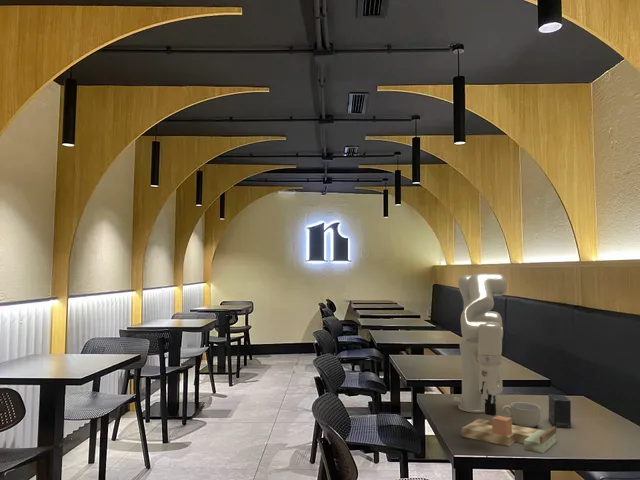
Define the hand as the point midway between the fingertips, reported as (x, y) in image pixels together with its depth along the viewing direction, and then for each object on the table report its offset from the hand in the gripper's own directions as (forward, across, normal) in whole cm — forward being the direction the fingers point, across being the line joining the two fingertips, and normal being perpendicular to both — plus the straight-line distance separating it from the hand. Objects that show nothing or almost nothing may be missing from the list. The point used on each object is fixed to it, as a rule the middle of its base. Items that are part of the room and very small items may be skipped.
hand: (490, 414), depth 183 cm
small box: (+10, +45, -11) cm, 47 cm away
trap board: (+10, +13, -2) cm, 16 cm away
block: (+7, +8, -1) cm, 11 cm away
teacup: (+10, +33, 0) cm, 34 cm away
